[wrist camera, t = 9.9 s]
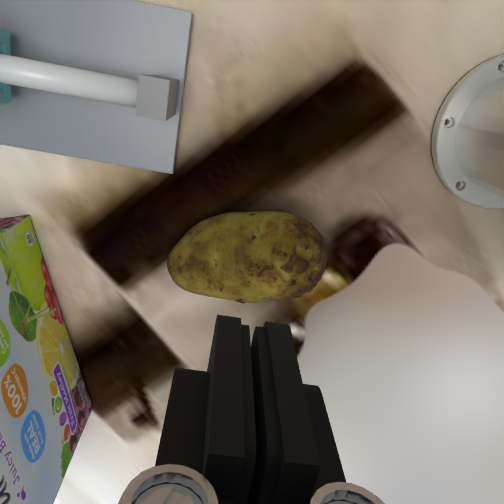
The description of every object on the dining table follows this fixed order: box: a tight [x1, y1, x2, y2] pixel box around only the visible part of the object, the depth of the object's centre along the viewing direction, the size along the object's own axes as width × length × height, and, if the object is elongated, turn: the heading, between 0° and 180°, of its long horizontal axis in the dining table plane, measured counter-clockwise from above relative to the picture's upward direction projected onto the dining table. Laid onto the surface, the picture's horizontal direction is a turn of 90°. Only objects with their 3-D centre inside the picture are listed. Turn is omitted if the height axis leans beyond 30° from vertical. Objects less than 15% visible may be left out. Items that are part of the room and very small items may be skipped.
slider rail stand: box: [0, 0, 193, 174], centre depth 31 cm, size 22×12×7 cm, turn 80°
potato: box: [167, 210, 327, 303], centre depth 36 cm, size 8×13×8 cm, turn 82°
